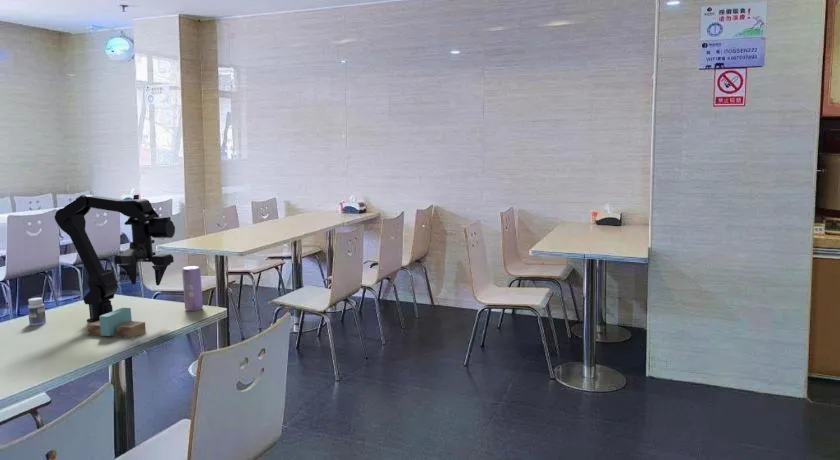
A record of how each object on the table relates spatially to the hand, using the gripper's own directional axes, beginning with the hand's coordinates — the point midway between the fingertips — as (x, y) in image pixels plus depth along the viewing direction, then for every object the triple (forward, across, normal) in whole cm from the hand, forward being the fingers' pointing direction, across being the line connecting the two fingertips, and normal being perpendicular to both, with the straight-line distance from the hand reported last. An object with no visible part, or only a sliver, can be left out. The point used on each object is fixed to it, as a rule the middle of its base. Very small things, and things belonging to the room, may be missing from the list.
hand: (145, 284), depth 209 cm
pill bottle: (+12, -35, -10) cm, 38 cm away
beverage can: (+12, +7, +15) cm, 21 cm away
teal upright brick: (+11, 0, -15) cm, 19 cm away
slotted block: (+12, 0, -15) cm, 19 cm away
